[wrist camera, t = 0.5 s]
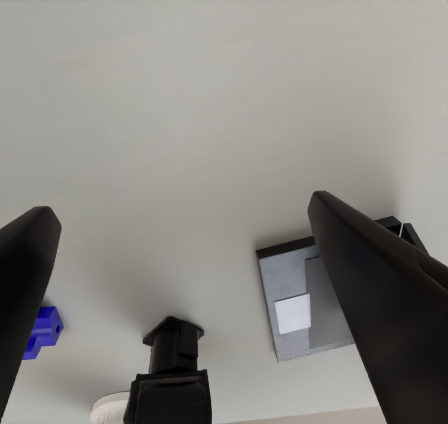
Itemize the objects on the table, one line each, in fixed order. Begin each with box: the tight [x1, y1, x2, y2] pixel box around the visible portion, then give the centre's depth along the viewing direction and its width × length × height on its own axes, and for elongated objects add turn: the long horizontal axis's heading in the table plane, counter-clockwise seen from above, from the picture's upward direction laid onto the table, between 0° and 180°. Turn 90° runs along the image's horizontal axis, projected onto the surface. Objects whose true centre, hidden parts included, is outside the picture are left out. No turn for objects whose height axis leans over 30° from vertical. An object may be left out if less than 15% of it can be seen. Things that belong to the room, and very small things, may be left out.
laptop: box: [256, 216, 402, 363], centre depth 36 cm, size 17×24×2 cm
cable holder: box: [22, 306, 63, 360], centre depth 29 cm, size 8×4×4 cm, turn 175°
